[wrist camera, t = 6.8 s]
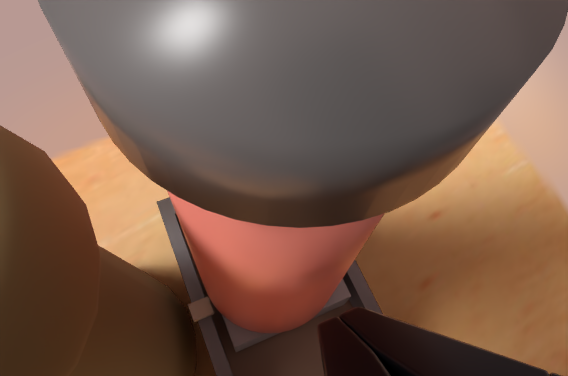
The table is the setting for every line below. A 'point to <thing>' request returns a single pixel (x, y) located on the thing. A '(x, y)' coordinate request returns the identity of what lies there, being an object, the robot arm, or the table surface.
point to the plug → (296, 123)
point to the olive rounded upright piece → (75, 286)
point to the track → (268, 353)
